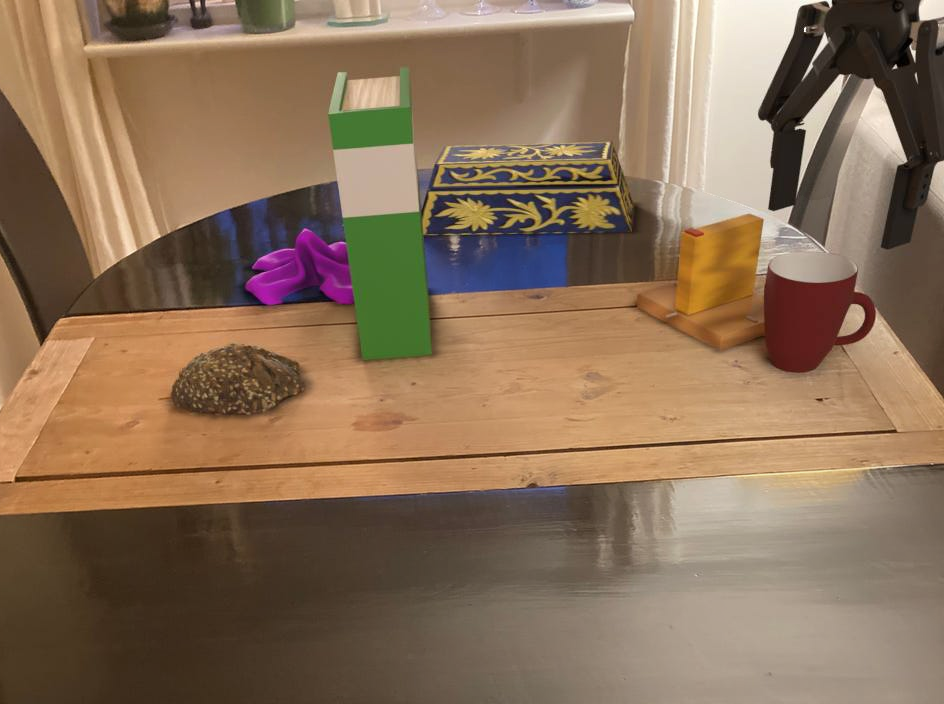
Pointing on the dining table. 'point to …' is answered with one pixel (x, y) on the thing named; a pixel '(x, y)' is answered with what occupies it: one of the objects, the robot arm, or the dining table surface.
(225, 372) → the bread roll
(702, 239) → the bar
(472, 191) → the decorative box
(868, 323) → the mug
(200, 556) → the dining table surface
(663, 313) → the board
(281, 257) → the cloth
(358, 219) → the hardback book
